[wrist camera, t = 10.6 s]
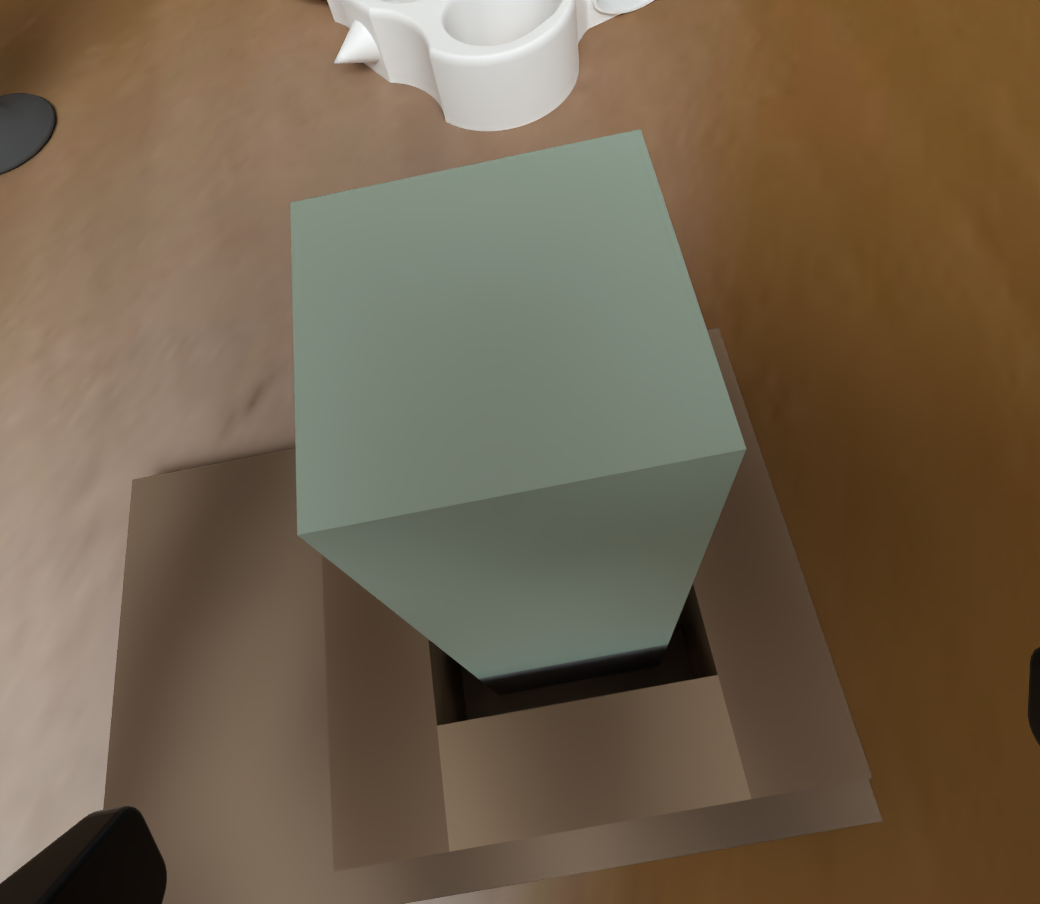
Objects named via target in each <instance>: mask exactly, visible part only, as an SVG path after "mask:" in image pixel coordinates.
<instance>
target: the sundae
mask: <svg viewBox="0 0 1040 904" xmlns="http://www.w3.org/2000/svg"><path fill="white" fill-rule="evenodd" d="M54 125H55V113H54V109H53V107H52V106H51V104H50V103H49V102H48V101H46V100H45V99H44V98H42V97H39V96H35V95H31V94H25V93H14V94H7V95H3V96H0V174H2V173H5V172H7V171H10V170H12V169H14V168H17V167H18V166H20V165H21V164H23V163H24V162H26V161H27V160H29V159H30V158H31V157H33V156H34V155H35V154H36V153H37V152H38V151H39V150H40V149H41V148H42V147H43V146H44V144H45V143H46V142H47V141H48V139H49V138H50V135H51V133H52V131H53V128H54Z"/></svg>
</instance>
